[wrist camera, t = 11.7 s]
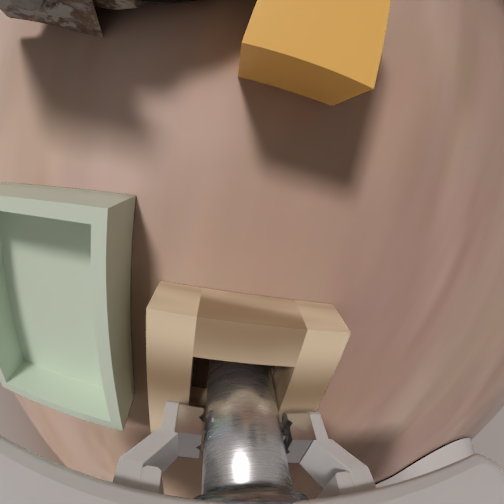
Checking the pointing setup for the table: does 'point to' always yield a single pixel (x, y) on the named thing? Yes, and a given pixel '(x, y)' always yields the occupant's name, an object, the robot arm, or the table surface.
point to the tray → (67, 299)
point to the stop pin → (244, 438)
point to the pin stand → (239, 344)
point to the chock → (315, 46)
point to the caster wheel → (68, 11)
